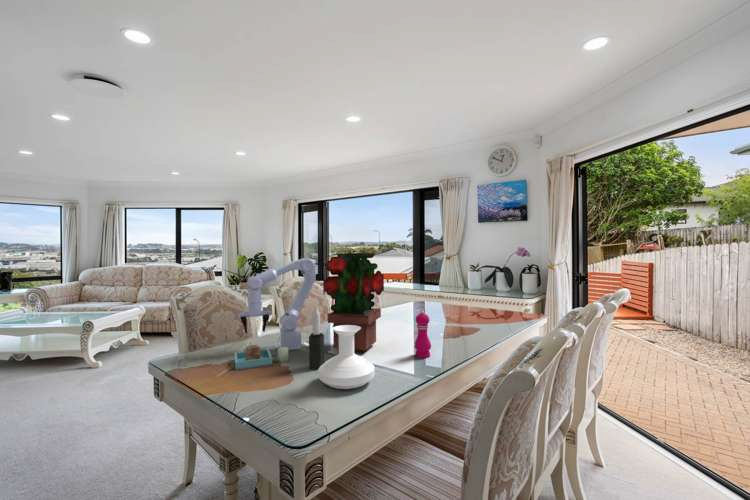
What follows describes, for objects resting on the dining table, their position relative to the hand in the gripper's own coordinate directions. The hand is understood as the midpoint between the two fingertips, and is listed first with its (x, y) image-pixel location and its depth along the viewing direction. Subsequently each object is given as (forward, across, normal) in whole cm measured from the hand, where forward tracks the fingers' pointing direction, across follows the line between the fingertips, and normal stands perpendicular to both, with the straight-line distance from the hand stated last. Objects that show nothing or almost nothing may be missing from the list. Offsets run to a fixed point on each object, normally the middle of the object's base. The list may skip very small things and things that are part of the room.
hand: (255, 332), depth 161 cm
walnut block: (+9, +2, +14) cm, 17 cm away
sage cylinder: (+9, -10, +17) cm, 21 cm away
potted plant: (+10, -44, +14) cm, 47 cm away
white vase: (+10, -26, +52) cm, 59 cm away
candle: (+10, -20, +32) cm, 39 cm away
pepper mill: (+10, -66, +38) cm, 77 cm away
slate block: (+10, -6, +6) cm, 13 cm away
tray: (+9, +2, +14) cm, 17 cm away
